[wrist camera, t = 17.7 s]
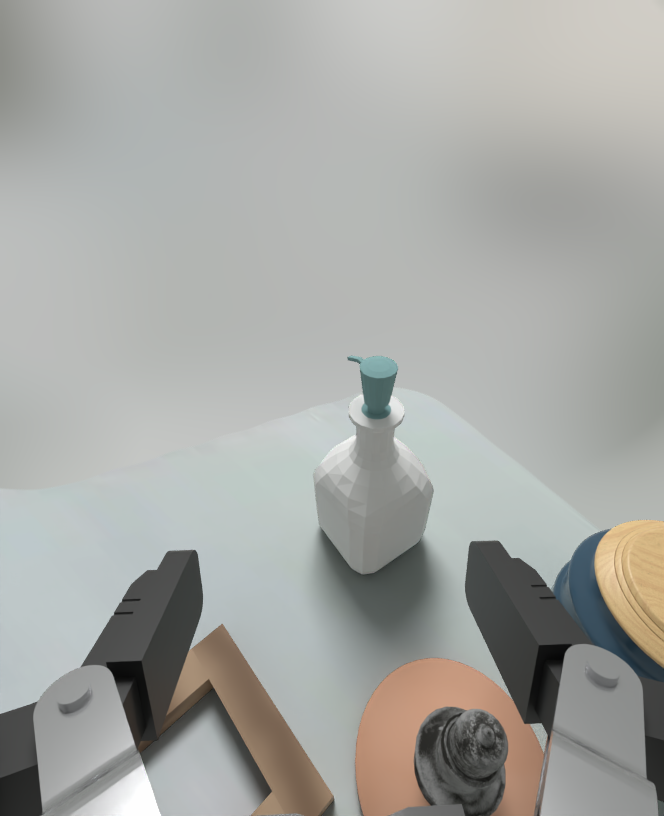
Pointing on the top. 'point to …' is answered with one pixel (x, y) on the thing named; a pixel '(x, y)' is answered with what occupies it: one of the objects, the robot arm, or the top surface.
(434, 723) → the salt shaker
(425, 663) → the saucer
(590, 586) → the canister
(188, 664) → the wooden square frame
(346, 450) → the soap bottle
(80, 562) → the top surface
